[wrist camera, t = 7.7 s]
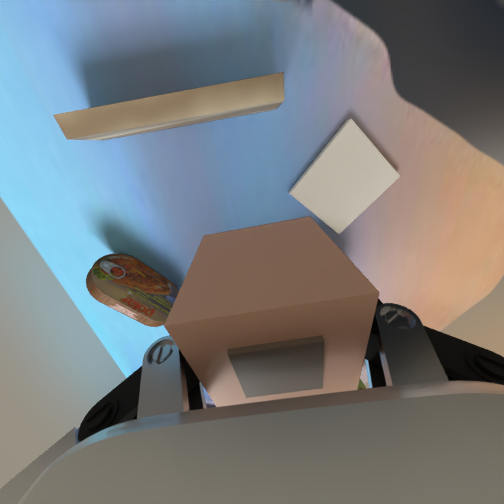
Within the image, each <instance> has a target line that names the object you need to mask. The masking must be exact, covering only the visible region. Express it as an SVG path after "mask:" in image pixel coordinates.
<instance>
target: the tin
mask: <svg viewBox="0 0 504 504" xmlns="http://www.w3.org/2000/svg"><path fill="white" fill-rule="evenodd" d="M86 286H87V289H88V291H89V293H90V294H91V295H92V296H93V297H94V298H95V299H96V300H98V301H99V302H101V303H103V304H105V305H107V306H109V307H111V308H113V309H115V310H117V311H119V312H121V313H122V314H124V315H126V316H128V317H130V318H132V319H134V320H136V321H138V322H140V323H142V324H144V325H147V326H151V327H157V326H162V325H164V324H165V322H166V320H167V318H168V315H169V313H170V311H171V309H172V306H173V304H174V302H175V300H176V297H177V295H178V293H179V289H178V288H177V287H176V285H175V284H173V283H172V282H171V281H169V280H168V279H166V278H165V277H163V276H162V275H160V274H159V273H157V272H155V271H154V270H152V269H151V268H150V267H148V266H147V265H145V264H144V263H142V262H141V261H139V260H137V259H136V258H134V257H131V256H129V255H125V254H109V255H106V256H103V257H101V258H100V259H98V260H97V261H96V262H95V263H94V265H93V267H92V268H91V269H90V271H89V273H88V275H87V278H86Z"/></svg>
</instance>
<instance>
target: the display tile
mask: <svg viewBox="0 0 504 504" xmlns="http://www.w3.org/2000/svg"><path fill="white" fill-rule="evenodd" d="M399 177H400V175H399V174H398V173H397V172H396V171H395V170H394V168H393V167H392V166H391V165H390V164H389V162H388V161H387V160H386V159H385V158H384V157H383V155H382V154H381V153H380V152H379V151H378V149H377V148H376V147H375V146H374V145H373V144H372V142H371V141H370V140H369V139H368V138H367V137H366V135H365V134H364V133H363V132H362V131H361V129H360V128H359V127H358V126H357V125H356V124H355V122H354V121H353V120H352V119H347V120H346V122H345V123H344V124H343V125H342V126H341V128H340V129H339V130H338V131H337V133H336V134H335V135H334V136H333V138H332V139H331V140H330V141H329V142H328V144H327V145H326V146H325V147H324V149H323V150H322V151H321V152H320V154H319V155H318V156H317V157H316V158H315V160H314V161H313V162H312V163H311V165H310V166H309V167H308V168H307V170H306V171H305V172H304V173H303V175H302V176H301V177H300V178H299V179H298V181H297V182H296V183H295V184H294V186H293V187H292V188H291V189H290V191H289V194H291V195H292V196H293V197H294V198H295V199H297V200H298V201H299V202H300V203H302V204H303V205H304V206H305V207H306V208H308V209H309V210H310V211H311V212H313V213H314V214H315V215H316V216H317V217H319V218H320V219H321V220H322V221H323V222H325V223H326V224H327V225H328V226H330V227H331V228H332V229H333V230H334V231H336V232H337V233H338V234H340V233H341V232H342V231H343V230H344V229H345V228H346V227H347V226H348V225H349V224H350V223H352V222H353V221H354V220H355V219H356V218H357V217H358V216H359V215H360V214H361V213H362V212H363V211H364V210H365V209H366V208H367V207H368V206H369V205H371V204H372V203H373V202H374V201H375V200H376V199H377V198H378V197H379V196H380V195H381V194H382V193H383V192H384V191H385V190H386V189H387V188H388V187H389V186H391V185H392V184H393V183H394V182H395V181H396V180H397V179H398V178H399Z"/></svg>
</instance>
